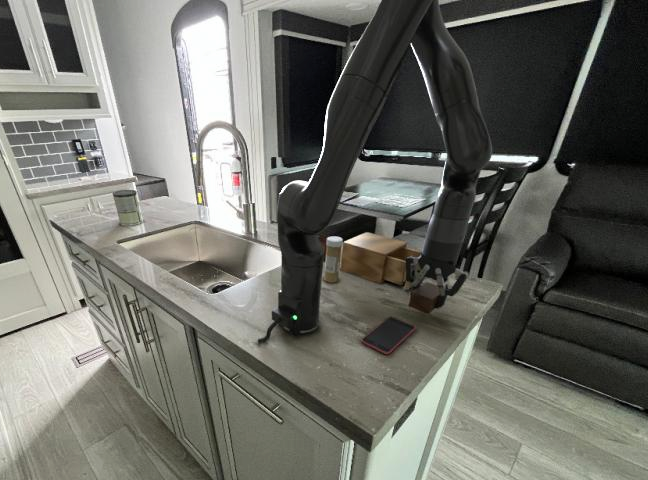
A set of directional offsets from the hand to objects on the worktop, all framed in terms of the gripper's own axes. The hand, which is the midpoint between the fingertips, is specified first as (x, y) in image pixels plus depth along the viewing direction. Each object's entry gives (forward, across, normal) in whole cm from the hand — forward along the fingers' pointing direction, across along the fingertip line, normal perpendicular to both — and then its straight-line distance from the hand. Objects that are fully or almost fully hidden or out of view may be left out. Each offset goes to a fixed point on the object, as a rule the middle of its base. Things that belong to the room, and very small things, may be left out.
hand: (425, 302), depth 79 cm
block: (0, 0, 0) cm, 0 cm away
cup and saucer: (+5, +44, -15) cm, 46 cm away
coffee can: (+6, +133, +19) cm, 134 cm away
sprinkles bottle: (+5, +29, -1) cm, 30 cm away
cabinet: (+5, +25, -16) cm, 30 cm away
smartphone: (+5, +2, +12) cm, 13 cm away
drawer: (+4, +13, -16) cm, 21 cm away
